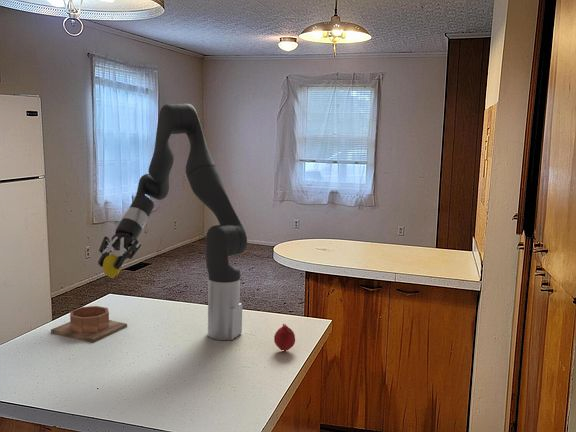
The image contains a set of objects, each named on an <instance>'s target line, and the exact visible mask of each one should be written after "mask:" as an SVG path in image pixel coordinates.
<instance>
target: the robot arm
mask: <svg viewBox="0 0 576 432" xmlns="http://www.w3.org/2000/svg"><path fill="white" fill-rule="evenodd" d="M156 125H157V126H156V134H155V142H154V150H153V153H152V156H151V157H152V158H151V161H150V163H149V167H148V173H145V174H143V175H142V176H141V177H139V180H138V184H137V185H138V186H137V190H136V194H135V197H134V199H133V201H132V202H131V204H130V206H129V208H128V209H127V211H125V213H124V215H123V216H122V218H121V219H120V222H119V223H118V225H117V227H116V229H115V234H113V235H112V236H111V237H108V236H104V237H103V239H102V241H101V244H100V247H99V249H98V252H100V254H101V256H100V258H99V260H98V261H97V263H98V265H99V267H100V268H103V262H104V259H105V258H106V257H107V256H109V255H110V254H116V252H117V251H118V252H119V255H117V257H118V258H117V260H116V261H115V263H114V265H113V266H114V267H115V268H116V269H119V268H120V267H121V268H122V266H123V264H124V263H125V261H126V260H127V259H128V260H131V259H132V258H134V256H135V254H136V253H137V252H138V250H139V249H140V248H141V246H142V244H141V243H140V241H138V238H139V237H140V235H141V233H142V231H143V229H144V228H145V225H146V224H147V221H148V219H149V217H150V216H151V213H152V212H153V209H154V207H155V203H154V202H153V200H152V199H155V200H158V201H162V200H164V199H165V198H166V197H167V196H168V194H169V190H170V173H171V170H172V168H173V165H174V160H175V158H174V157H175V156H174V153H173V150H172V148H171V145H170V143H169V139H170V138H171V135H180V134H181V135H182V134H185V135H186V136H187V139H188V141H189V145H190V147H189V148H190V149H189V153H188V156H187V161H186V164H185V175H186V178H187V180H188V182H189V186H190V188H191V190H192V192H193V194H194V195H195V197H197V198H198V200H199V201H200V202H202V203H203V204H204V205H205V206H206V207H207V208H208V209H209V210H210V211H211V212H212V213H213V214H214V215H215V217H216V219H217V222H218V223H219V224H217V225H212V226H211V227H209V229H208V230H207V232H206V235H205V259H206V261H205V262H206V270H207V274H208V286H207V287H208V289H207V290H208V291H207V294H208V297H207V303H208V305H207V336H208V337H209V338H210V339H213V340H218V341H227V340H228V341H233V340H235V339H236V338H237V336H238V335H239V334H240V335H242V334H243V333H242V331H243V303H242V302H240V299H241V296H240V295H241V293H240V292H241V270H240V268H238V267H237V266H234V265H230V264H229V256H235V255H239V254H242V253H244V252H245V251H246V249H247V246H248V237H247V233H246V231H245V229H244V226H243V224H242V222H241V220H240V218H239V216H238V214H237V213H236V210H235V209H234V207H233V205H232V203H231V200H230V199H229V196H228V194H227V191H226V188H225V187H224V185H223V181H222V179H221V175H220V173H219V170H218V168H217V166H216V163H215V161H214V159H213V157H212V154H211V152H210V150H209V147H208V144H207V140H206V138H205V135H204V131H203V127H202V124H201V121H200V118H199V114H198V112H197V110H196V108H195V107H194V106H193V104H191V103H166V104H164V105H162V107H161V109H160V111H159V113H158V118H157V123H156ZM148 196H149V197H150V198H152V199H150V198H149V197H148ZM241 333H242V334H241ZM240 335H239V336H240ZM239 336H238V337H239ZM235 337H236V338H235ZM234 338H235V339H234Z"/></svg>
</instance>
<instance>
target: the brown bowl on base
mask: <svg viewBox="0 0 576 432" xmlns="http://www.w3.org/2000/svg"><path fill="white" fill-rule="evenodd" d="M69 319H70V321H69V322H66V323H63V324H60V325H59V326H58V325H57V326H56V327H54V328H51V329H50V333H52V334H55V335H59V336H63V337H69V338H73V339H77V340H81V341H86V342H90V343H95V342H98V341H101V340H102V339H104V338H107V337H109V336H110V335H113V334H116V333H117V332H119V331H122V330H123V329H126V328H128V323H126V322H121V321H116V320H110V311H109V308H108V307H103V306H99V305H93V306H92V305H89V306H81V307H78V308H75V309H73V310H70V313H69Z"/></svg>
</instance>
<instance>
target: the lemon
mask: <svg viewBox="0 0 576 432" xmlns="http://www.w3.org/2000/svg"><path fill="white" fill-rule="evenodd" d="M117 258H118V255H115V254H114V253H112V254H110V255H109V256H107V257H106V258H105V259H104V262H103V267H102V270H103V272H104V274H105V275H106V276H107V277H110V278H111V279H114V278H115V277H117V276H118V275H119V273H120V272H121V270H122V266H121V267H120V268H119V269H116V268H115V267H114V266H113V265H114V263H115V261H116V260H117Z"/></svg>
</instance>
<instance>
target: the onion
mask: <svg viewBox="0 0 576 432" xmlns="http://www.w3.org/2000/svg"><path fill="white" fill-rule="evenodd" d="M273 340H274V341H273V342H274V344H275V346H277V348H278V349H279V350H280V351H281V350H284V351H285V352H287V351H289V350H291V348H293V347H294V345H295V343H296V335H295V333H294V331H293V330H292V329H291V328H290V327H289V326H288V325H287V324H285V323H283V324H282V326H281V327H280V328H278V329H277V330H276V332H275V334H274V336H273ZM286 350H287V351H286Z"/></svg>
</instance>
